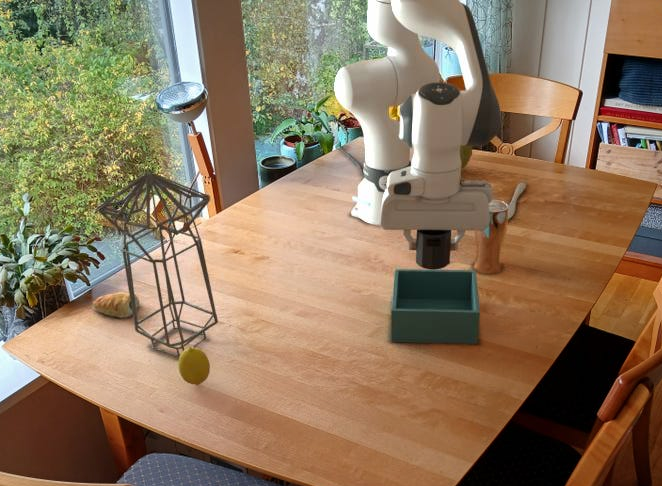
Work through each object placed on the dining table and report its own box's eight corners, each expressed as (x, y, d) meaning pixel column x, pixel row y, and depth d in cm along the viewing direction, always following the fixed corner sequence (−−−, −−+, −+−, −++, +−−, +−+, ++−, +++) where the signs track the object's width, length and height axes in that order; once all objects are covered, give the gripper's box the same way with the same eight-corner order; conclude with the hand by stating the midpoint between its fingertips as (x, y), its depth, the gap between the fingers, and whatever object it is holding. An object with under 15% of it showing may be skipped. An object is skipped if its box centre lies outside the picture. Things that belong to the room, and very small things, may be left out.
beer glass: (502, 275, 164) (509, 212, 155) (470, 273, 165) (475, 211, 157) (503, 261, 170) (509, 199, 161) (472, 259, 171) (477, 198, 162)
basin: (394, 298, 158) (394, 269, 154) (473, 300, 156) (475, 270, 152) (391, 341, 144) (391, 310, 140) (477, 344, 143) (480, 312, 138)
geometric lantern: (180, 314, 156) (149, 152, 136) (236, 336, 148) (212, 167, 128) (123, 350, 145) (80, 180, 125) (180, 376, 138) (144, 199, 118)
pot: (416, 251, 147) (417, 218, 143) (449, 251, 146) (450, 218, 142) (415, 273, 140) (416, 239, 136) (449, 273, 139) (451, 239, 135)
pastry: (88, 315, 157) (84, 300, 155) (103, 300, 162) (99, 284, 160) (129, 319, 155) (125, 303, 153) (143, 303, 160) (139, 287, 158)
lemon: (183, 376, 138) (176, 340, 133) (213, 374, 138) (207, 338, 133) (180, 394, 133) (173, 358, 128) (211, 392, 133) (205, 355, 129)
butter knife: (530, 183, 205) (519, 181, 206) (507, 223, 185) (496, 221, 186) (529, 185, 205) (519, 183, 206) (507, 225, 185) (495, 223, 186)
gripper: (493, 173, 135) (487, 242, 143) (380, 173, 137) (381, 241, 145) (495, 186, 130) (489, 257, 138) (378, 186, 132) (379, 256, 140)
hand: (432, 249), depth 141 cm, fingers closed on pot, 6 cm apart
